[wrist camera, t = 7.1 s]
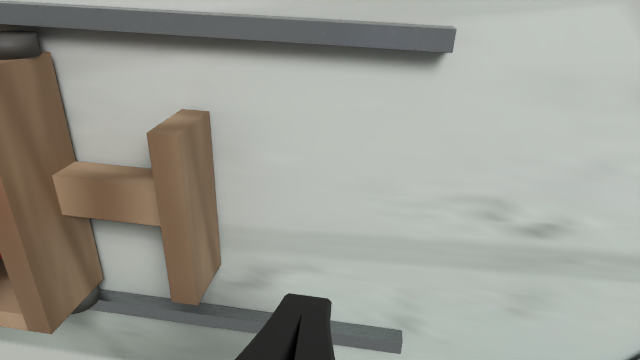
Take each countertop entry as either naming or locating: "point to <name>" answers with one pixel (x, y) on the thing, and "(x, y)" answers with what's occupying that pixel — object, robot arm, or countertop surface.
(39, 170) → the wooden frame
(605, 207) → the countertop surface
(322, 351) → the robot arm
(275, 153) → the countertop surface
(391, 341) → the track
